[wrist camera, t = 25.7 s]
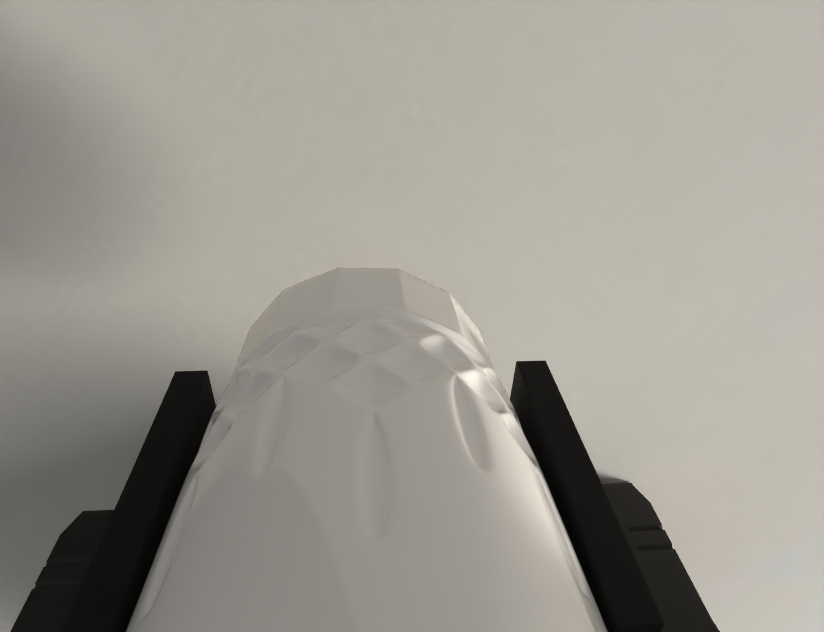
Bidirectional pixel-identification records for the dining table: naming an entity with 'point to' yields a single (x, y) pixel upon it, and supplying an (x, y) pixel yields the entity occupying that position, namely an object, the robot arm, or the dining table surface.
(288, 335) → the white cup
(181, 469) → the robot arm
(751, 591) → the dining table surface
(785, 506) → the dining table surface
